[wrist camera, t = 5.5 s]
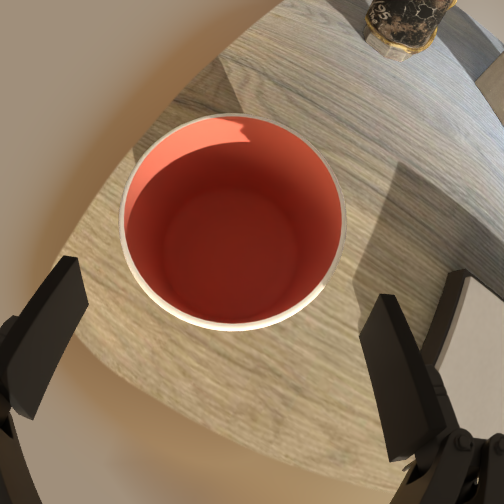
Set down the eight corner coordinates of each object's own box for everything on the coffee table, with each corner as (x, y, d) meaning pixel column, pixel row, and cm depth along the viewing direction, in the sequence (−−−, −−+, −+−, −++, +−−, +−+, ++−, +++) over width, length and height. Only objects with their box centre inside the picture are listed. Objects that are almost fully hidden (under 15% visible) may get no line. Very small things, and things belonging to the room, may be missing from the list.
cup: (208, 350, 21) (193, 377, 11) (139, 232, 23) (86, 177, 13) (323, 276, 23) (388, 247, 13) (251, 168, 24) (266, 85, 14)
